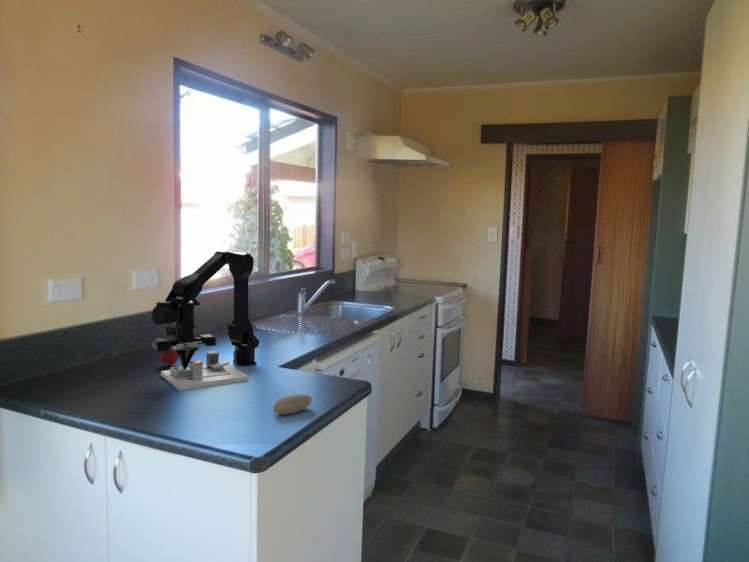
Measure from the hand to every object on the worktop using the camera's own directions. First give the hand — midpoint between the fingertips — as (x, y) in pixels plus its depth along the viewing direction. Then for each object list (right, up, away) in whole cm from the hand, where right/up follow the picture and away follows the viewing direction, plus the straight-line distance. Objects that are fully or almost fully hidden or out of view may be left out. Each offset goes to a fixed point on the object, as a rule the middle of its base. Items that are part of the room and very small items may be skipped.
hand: (184, 368), depth 181 cm
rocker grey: (+9, 0, +8) cm, 12 cm away
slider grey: (+6, -1, +10) cm, 12 cm away
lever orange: (+5, -2, -3) cm, 6 cm away
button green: (0, -2, 0) cm, 2 cm away
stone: (+38, -8, -25) cm, 46 cm away
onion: (-10, -2, +15) cm, 18 cm away
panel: (+5, -3, +3) cm, 7 cm away
